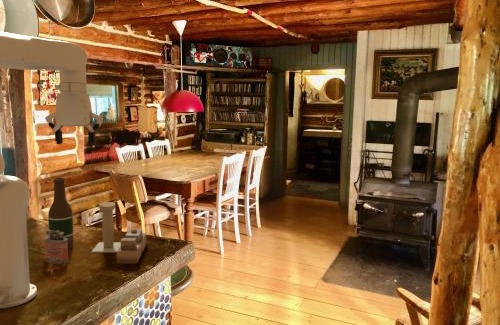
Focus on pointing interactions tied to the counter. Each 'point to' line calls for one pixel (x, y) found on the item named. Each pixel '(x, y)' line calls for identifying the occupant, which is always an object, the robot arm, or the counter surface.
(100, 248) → the felt pad
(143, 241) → the body
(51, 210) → the brown glass bottle
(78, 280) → the counter surface
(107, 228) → the handle
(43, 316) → the counter surface
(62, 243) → the lighter
